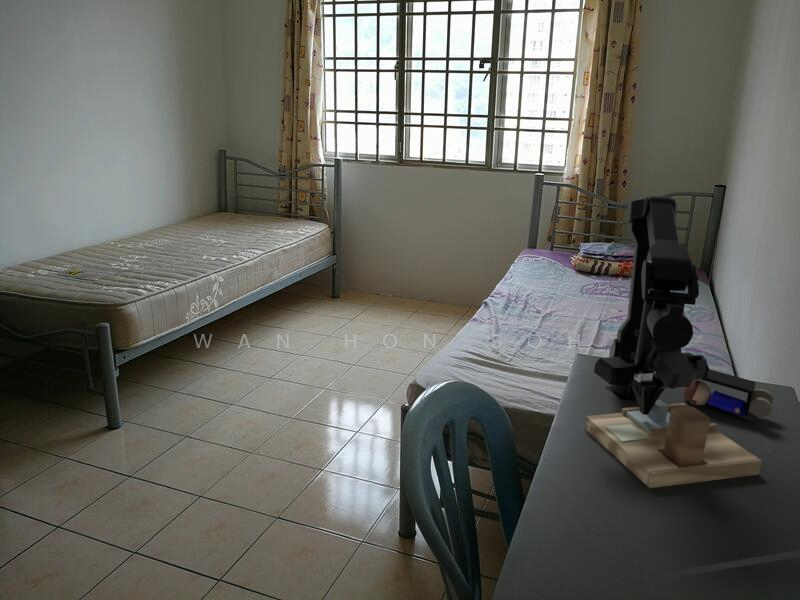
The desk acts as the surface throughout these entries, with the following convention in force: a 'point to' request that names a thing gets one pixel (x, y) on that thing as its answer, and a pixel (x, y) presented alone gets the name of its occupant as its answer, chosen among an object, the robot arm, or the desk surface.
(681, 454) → the peg
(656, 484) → the puzzle board
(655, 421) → the lid
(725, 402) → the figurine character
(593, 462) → the desk surface
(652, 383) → the robot arm
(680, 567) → the desk surface
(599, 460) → the desk surface
